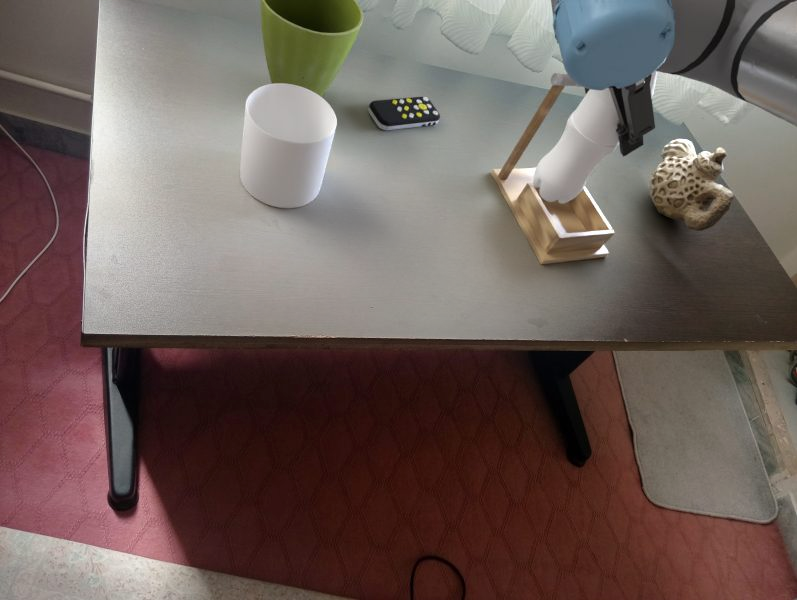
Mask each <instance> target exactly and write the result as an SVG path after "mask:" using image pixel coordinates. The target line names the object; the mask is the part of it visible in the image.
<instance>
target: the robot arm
mask: <svg viewBox="0 0 797 600" xmlns="http://www.w3.org/2000/svg"><path fill="white" fill-rule="evenodd" d="M550 2H551V3H550V4H551V10H552V11H551V12H552V21H553V22H552V28H553V33H554V38H555V40H556V43H557V45H558V47H559V51H560V55H561V59H562V65H563V68H564V70H565V72H566V74H568V76H569V77H570V78H571V79H572V80H573V81H574V82H575V83H577V84H578V85H580V86H582V87H581V88H584V92H585V95H586V94H587V92H588V91H589V90H590V89H592V90H599V91H600V90H604V89H606V88H609V90H610V93H611V96H612V99H613V102H614V105H615V108H616V111H617V114H618V117H619V120H620V123H619V124H617V129H616V132H617V134H618V137H619V145H618V146H619V152H620V154H621V155H622V157H626V156H628V155H629V154H631V153H632V152H634V151H636V150H637V149H639V148H641V147H642V146H644V136H645V135H647V134H648V133H649V132H652V131H653V130H655V129H656V123H655V115H654V107H653V106H654V105H653V96H652V97H651V89H650V82H651V78H652V74H651V73H653V72H654V71H658V73H662V74H669V75H673V76H679V77H682V78H686V79H688V80H694V81H695V82H696V81H697V82H700V83H703V84H707V85H709V86H712V87H715V88H717V89H719V90H720V91H723V92H725V93H727V94H729V95H730V96H733V97H735V98H737V99H739V100H741V101H743V102H746V103H748V104H750V105H752V106H755V107H757V108H759V109H761V110H763V111H765V112H766V113H769V114H771V115H773V116H774V117H776V118H779V119H780V120H782V121H784V122H786V123H788V124H789V125H792V126H794V127H795V128H797V0H550ZM793 600H797V597H796V598H794V599H793Z"/></svg>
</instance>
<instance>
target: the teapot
mask: <svg viewBox="0 0 797 600" xmlns="http://www.w3.org/2000/svg"><path fill="white" fill-rule="evenodd" d="M727 156H728V153H727V152H726V150H725V149H724V148H723V147H718V148H716V150H714V152H713V153H712V152H710V151H705V150H703V151H701V152H699V153H698V154H697V151H696V149H695V146H694V144H693V142H692V141H690V140H688V139H685V138H676V139H674V140H673V139H672V140H671V141H669V142H668V143H667V144H665V145H664V146H663V148H662V150H661V154H660V157H662V159H663V160H662V161H661V162H660V164H658V166H657V167H656V169H654V171H653V172H652V173H651V176H650V179H649V181H648V183H649V190H650V191H649V192H650V198H651V201H652V202H653V204H654V207H655V209H656V210H657V212H658V213H659V214H661V215H664V216H665V217H667V218H670V219H673V220H676V221H678V222H679V221H680V222H684V223H685V225H686V227H687V228H689V229H690V230H693V231H697V232H702V231H705V230H708V229H710V228H712V227H714V226H715V225H716V224H717V223H718V222H719V221H720V220H722V218H723V217H724V215H725V214H726V213H727V212H728V211H729V210H730V207H731V205H732V202H733V200H734V198H735V195H734V193H733V192H732V191H731V190H730V189H729V188H728V187H726V186H724V185H723V184H722V183H721V184H720V183H718V182H717V181H718V177H719V176H720V175H721V174H723V173H724V169H725V168H724V163H723V161H724V160H725V158H727Z"/></svg>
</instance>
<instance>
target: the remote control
mask: <svg viewBox="0 0 797 600" xmlns="http://www.w3.org/2000/svg"><path fill="white" fill-rule="evenodd" d="M367 109H368V113H369V115H370V117H371V118H372V119H373V121H374V123H375V124H376V126H377V127H378V128H379V129H380V130H383V131H395V130H402V129H411V128H420V127H428V126H435V125H437V124H438V123H439V121H440V119H441V113H440V112H439V111H438V108H436V107H435V106H434V104H433V102H432V101H431V100H430V99H429V98H428V97H426V96H413V97H411V96H410V97H399V98H390V99H377V100H376V99H375V100H372V101H370V103H369V106H368V108H367Z"/></svg>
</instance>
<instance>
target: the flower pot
mask: <svg viewBox="0 0 797 600" xmlns="http://www.w3.org/2000/svg"><path fill="white" fill-rule="evenodd" d="M259 3H260V19H261V34H262V44H263V50H264V56H265V60H266V66H267V71H268V74H269V79H270V82H271V84H274V83H285V84H293V85H297V86H301V87H303V88H306V89H308V90H311V91H312V92H314V93H316V94H318V95H319V96H320V97H322V98H323V96H324V94H325V93H326V92H327V90H328V89H329V88H330V86H331V84H332V83H333V82H334V80H335V79H336V77H337V75H338V74H339V72H340V70H341V68H342V67H343V65H344V63H345V61H346V59H347V58H348V56H349V53H350V52H351V49H352V47H353V45H354V43H355V41H356V39H357V37H358V34H359V32H360V29H361V27H362V25H363V22H364V12H363V10H362V7H361V6H360V3H358V1H357V0H259Z"/></svg>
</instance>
